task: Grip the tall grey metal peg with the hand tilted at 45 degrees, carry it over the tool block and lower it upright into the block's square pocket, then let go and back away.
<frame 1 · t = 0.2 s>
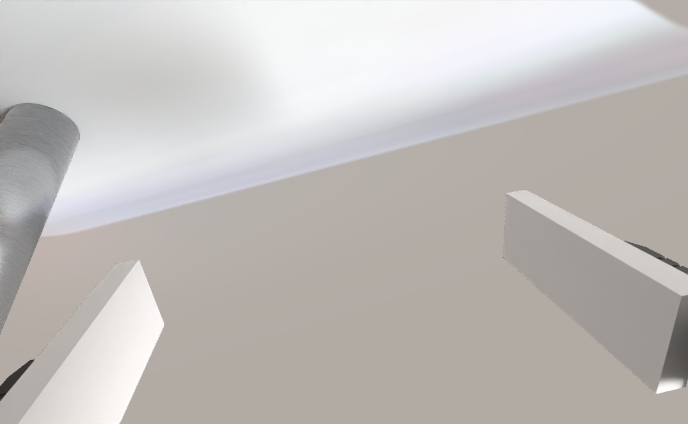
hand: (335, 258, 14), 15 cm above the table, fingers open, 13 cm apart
metal peg: (44, 127, 25), on the table
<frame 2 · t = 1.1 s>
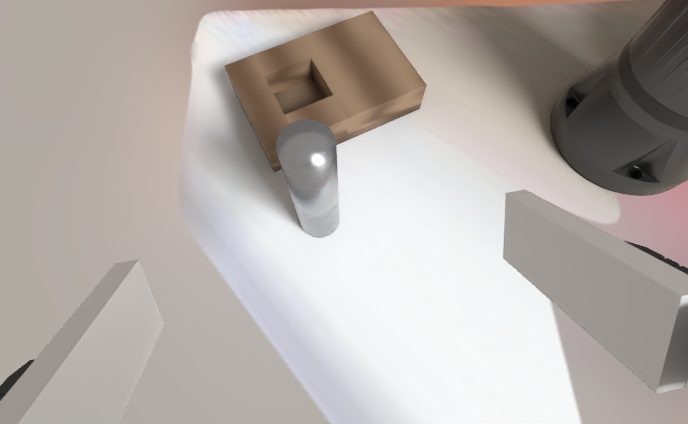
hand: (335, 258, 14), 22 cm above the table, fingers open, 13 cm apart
tool block: (325, 99, 44), on the table
metal peg: (319, 218, 38), on the table
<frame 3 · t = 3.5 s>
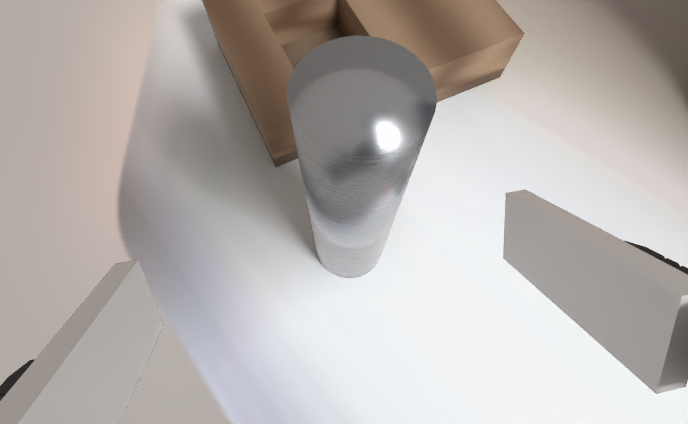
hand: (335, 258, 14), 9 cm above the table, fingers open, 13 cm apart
tool block: (356, 59, 29), on the table
metal peg: (348, 245, 23), on the table
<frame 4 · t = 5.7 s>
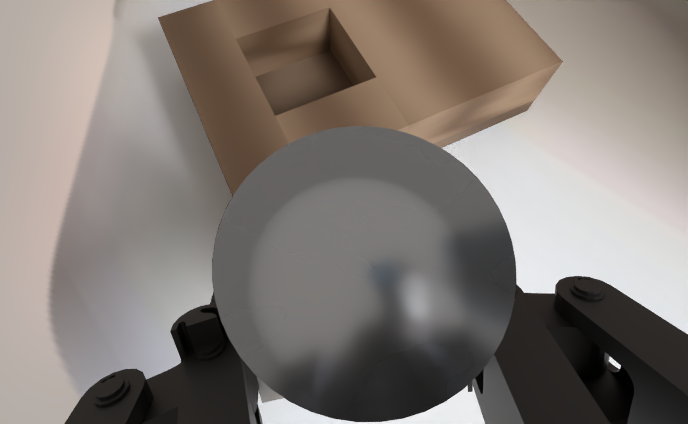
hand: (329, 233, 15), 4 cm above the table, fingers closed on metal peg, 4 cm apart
tool block: (353, 90, 24), on the table
metal peg: (345, 337, 18), on the table, touching gripper
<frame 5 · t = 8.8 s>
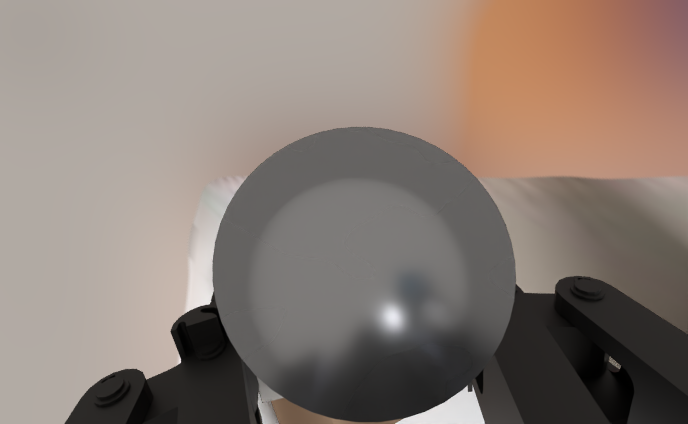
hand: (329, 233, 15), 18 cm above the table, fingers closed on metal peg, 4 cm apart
tool block: (374, 331, 31), on the table
metal peg: (345, 337, 18), point 14 cm above the table, touching gripper
when the fingers open (6 cm above the table, at t = 11.9 s): metal peg stays where it is, resting on tool block.
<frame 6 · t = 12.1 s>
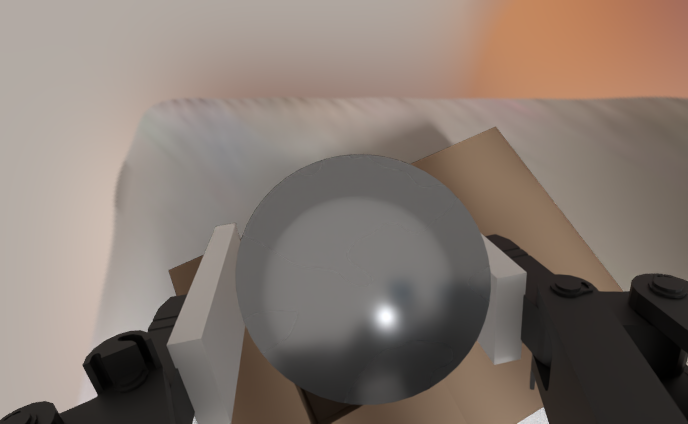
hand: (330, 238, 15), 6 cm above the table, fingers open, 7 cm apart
tool block: (394, 314, 20), on the table
metal peg: (345, 339, 19), point 1 cm above the table, touching tool block
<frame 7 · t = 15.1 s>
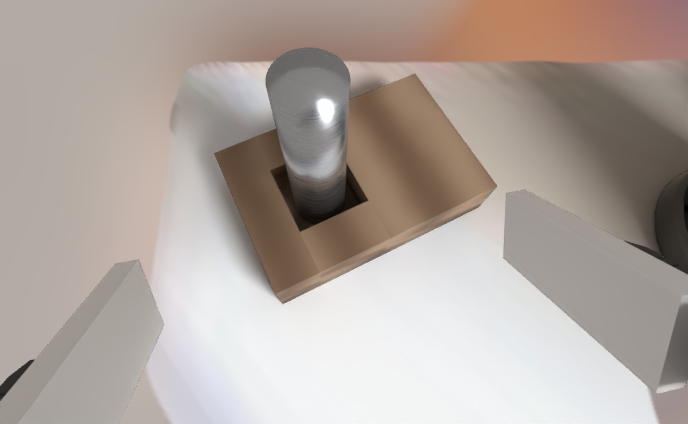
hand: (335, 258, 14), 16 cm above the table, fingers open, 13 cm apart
tool block: (352, 192, 32), on the table
metal peg: (320, 202, 31), point 1 cm above the table, touching tool block
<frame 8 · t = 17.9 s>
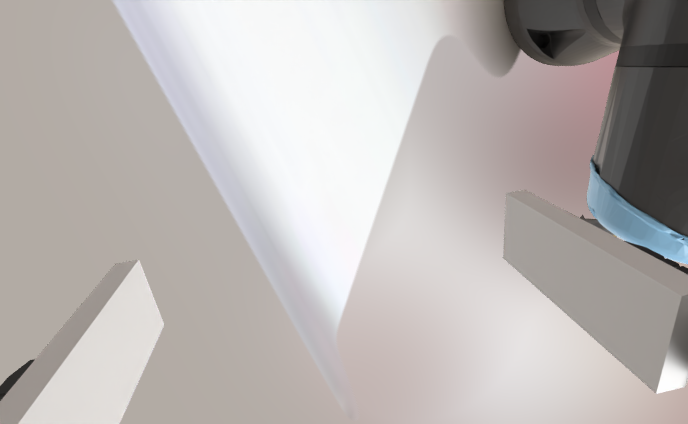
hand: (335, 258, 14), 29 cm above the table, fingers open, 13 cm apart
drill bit: (581, 236, 51), on the table
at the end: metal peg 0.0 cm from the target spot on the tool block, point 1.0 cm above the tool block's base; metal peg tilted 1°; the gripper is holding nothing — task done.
